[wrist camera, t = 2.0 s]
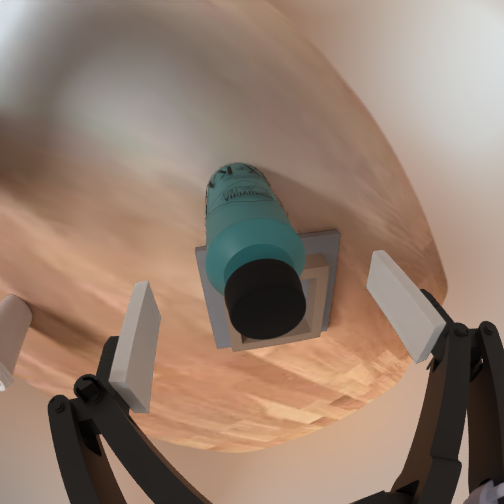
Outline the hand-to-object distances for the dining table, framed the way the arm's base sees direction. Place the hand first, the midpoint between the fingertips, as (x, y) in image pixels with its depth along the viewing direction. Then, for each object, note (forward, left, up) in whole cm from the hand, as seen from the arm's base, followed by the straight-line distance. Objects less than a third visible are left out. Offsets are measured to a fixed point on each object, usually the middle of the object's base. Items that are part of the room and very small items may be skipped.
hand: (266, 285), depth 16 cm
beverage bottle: (0, 0, -17) cm, 17 cm away
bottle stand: (+16, +3, -17) cm, 24 cm away
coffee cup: (+14, -40, -17) cm, 46 cm away
